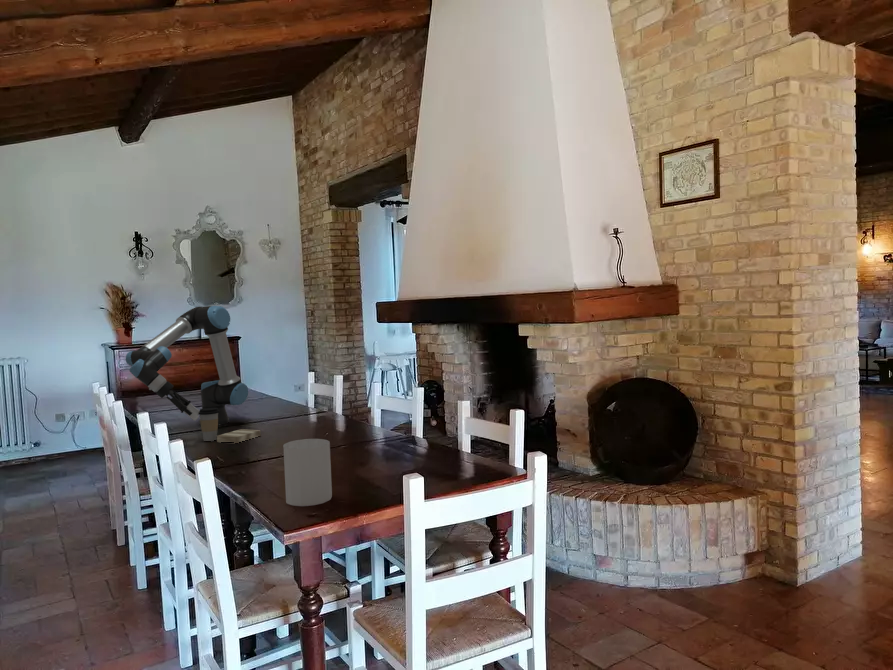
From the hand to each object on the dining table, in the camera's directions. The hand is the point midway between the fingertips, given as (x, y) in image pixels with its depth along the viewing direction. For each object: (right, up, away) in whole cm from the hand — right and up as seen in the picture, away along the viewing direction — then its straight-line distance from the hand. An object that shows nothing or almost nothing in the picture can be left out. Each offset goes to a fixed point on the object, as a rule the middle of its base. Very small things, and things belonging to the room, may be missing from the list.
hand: (198, 416), depth 301 cm
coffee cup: (+5, -12, +3) cm, 13 cm away
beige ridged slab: (+18, -11, +3) cm, 22 cm away
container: (+72, -15, -95) cm, 120 cm away
